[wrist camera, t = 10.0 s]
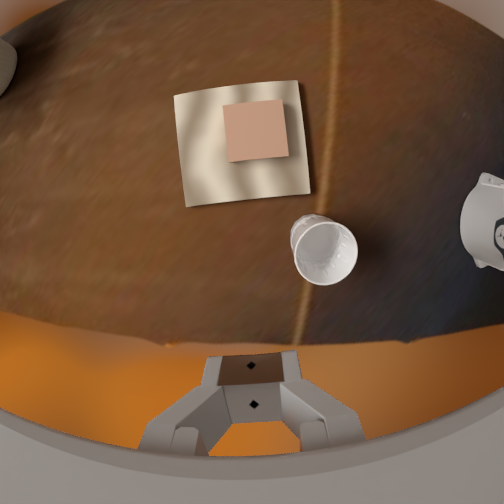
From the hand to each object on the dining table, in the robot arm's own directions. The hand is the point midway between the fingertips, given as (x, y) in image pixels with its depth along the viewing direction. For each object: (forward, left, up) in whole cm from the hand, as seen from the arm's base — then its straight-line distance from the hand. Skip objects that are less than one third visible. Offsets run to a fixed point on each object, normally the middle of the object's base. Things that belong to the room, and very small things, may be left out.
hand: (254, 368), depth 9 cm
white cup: (-8, +4, -34) cm, 35 cm away
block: (+3, -12, -32) cm, 34 cm away
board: (+1, -11, -34) cm, 36 cm away
